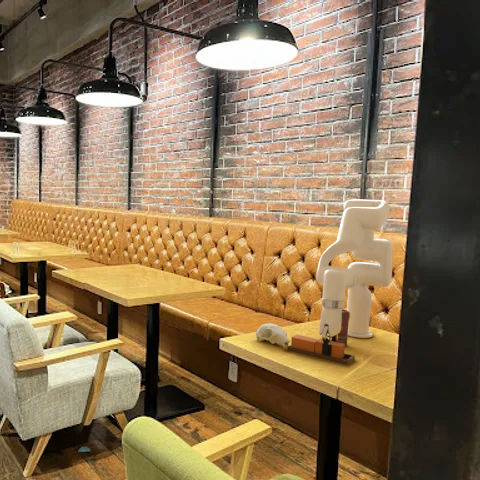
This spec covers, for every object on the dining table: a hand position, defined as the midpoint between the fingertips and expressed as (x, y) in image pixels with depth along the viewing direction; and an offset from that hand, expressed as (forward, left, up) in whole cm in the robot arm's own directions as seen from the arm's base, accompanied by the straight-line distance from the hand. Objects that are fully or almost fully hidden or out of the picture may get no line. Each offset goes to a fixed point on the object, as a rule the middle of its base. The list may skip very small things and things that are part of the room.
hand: (329, 352), depth 176 cm
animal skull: (0, -22, -2) cm, 22 cm away
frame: (0, -3, -2) cm, 4 cm away
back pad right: (0, 0, -1) cm, 1 cm away
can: (-20, -3, -2) cm, 20 cm away
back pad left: (0, -9, -2) cm, 9 cm away
